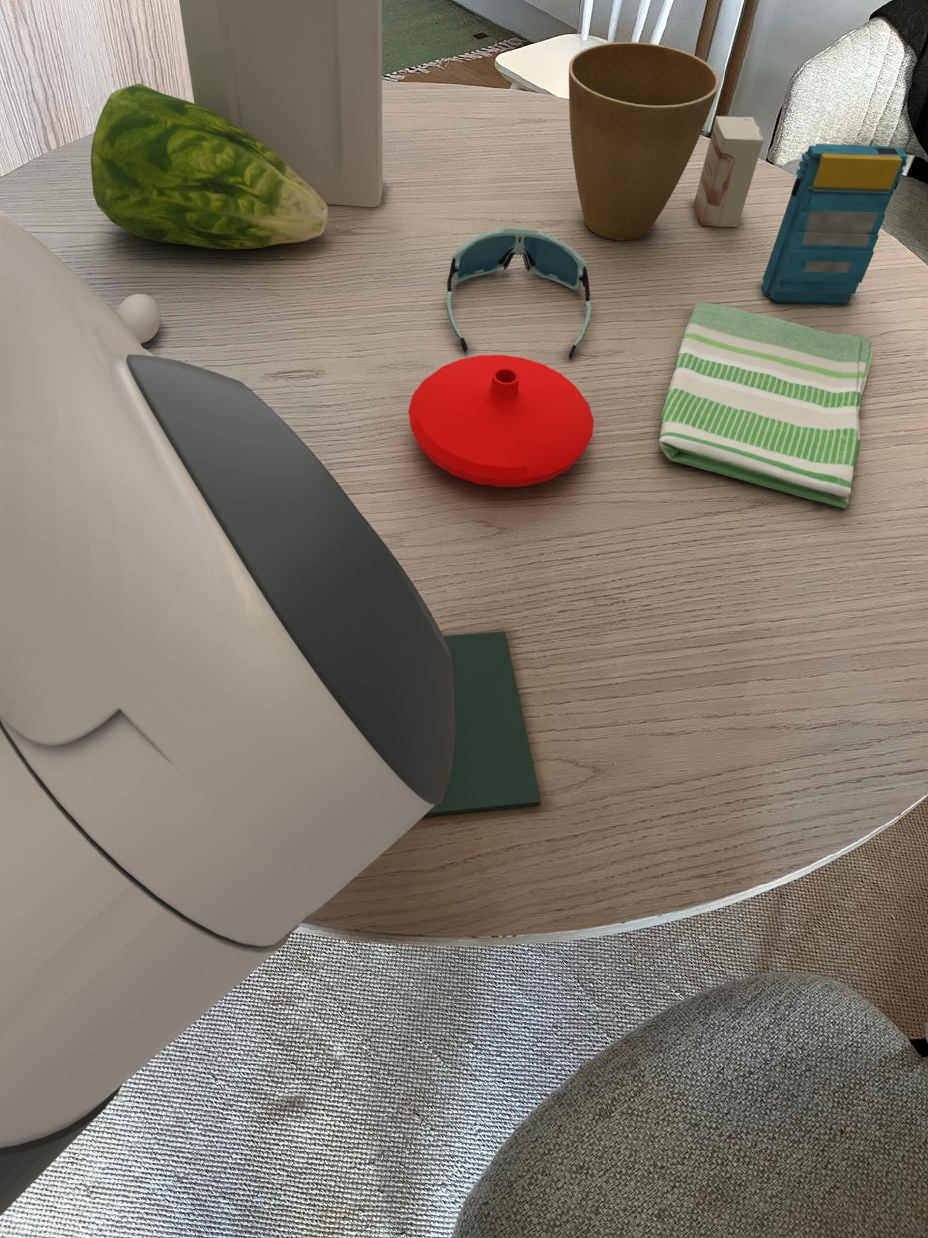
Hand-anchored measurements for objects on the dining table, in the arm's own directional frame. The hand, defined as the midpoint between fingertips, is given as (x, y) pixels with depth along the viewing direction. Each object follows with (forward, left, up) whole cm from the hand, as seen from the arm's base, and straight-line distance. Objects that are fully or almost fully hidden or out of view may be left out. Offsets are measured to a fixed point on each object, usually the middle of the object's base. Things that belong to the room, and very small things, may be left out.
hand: (242, 577), depth 44 cm
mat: (+7, +6, -23) cm, 25 cm away
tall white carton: (+4, +82, -23) cm, 85 cm away
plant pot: (+38, +69, -23) cm, 82 cm away
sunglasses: (+24, +53, -23) cm, 63 cm away
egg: (-12, +51, -23) cm, 57 cm away
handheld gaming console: (+55, +54, -23) cm, 81 cm away
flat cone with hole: (+19, +34, -23) cm, 45 cm away
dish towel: (+45, +37, -23) cm, 62 cm away
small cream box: (+50, +70, -23) cm, 89 cm away
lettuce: (-5, +68, -23) cm, 72 cm away
